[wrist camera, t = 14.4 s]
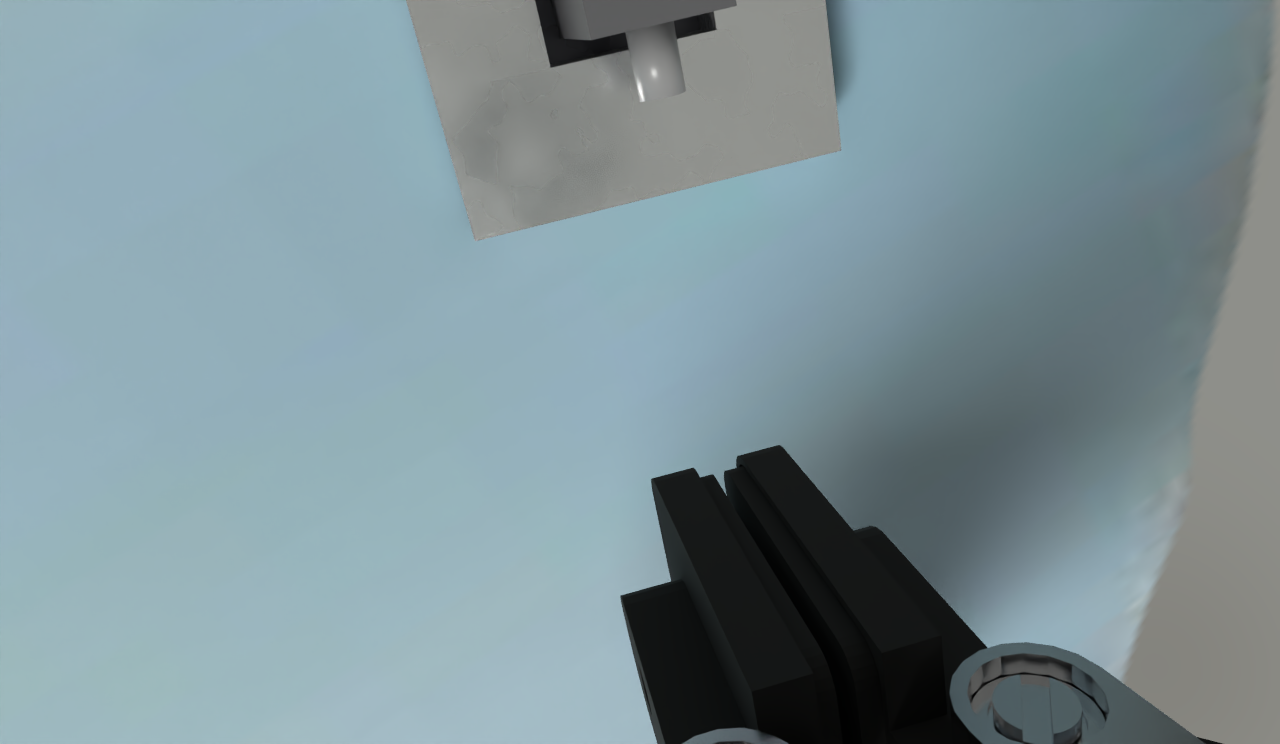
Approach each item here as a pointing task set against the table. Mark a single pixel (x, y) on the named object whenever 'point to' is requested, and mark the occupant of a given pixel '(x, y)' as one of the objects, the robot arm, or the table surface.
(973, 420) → the table surface
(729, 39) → the socket plate
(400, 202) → the table surface
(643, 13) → the plug
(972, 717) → the robot arm
